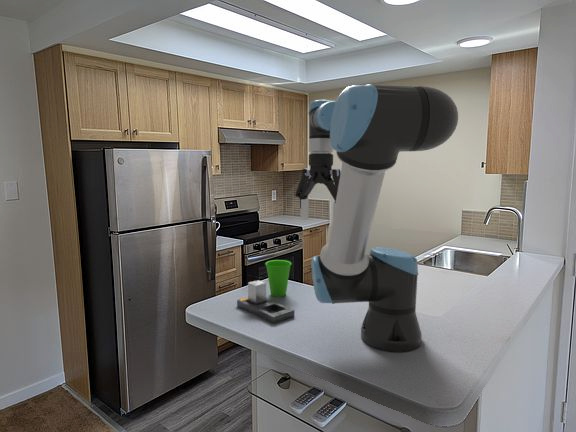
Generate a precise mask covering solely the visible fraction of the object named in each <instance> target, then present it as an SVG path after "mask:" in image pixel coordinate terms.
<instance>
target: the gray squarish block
mask: <svg viewBox="0 0 576 432" xmlns="http://www.w3.org/2000/svg"><path fill="white" fill-rule="evenodd" d="M247 297H248V303H250V304H252V305H254V306H257V305H260V304H263V303H266V298H267V282H264V281H262V280H259V279H258V280H253V281H249V282H247Z"/></svg>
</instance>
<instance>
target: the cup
mask: <svg viewBox="0 0 576 432" xmlns="http://www.w3.org/2000/svg"><path fill="white" fill-rule="evenodd" d="M292 264H293V263H292V262H291V261H290V260H287V259H286V260H284V259H272V260H268V261H266V262H265V263H264V265H265V267H266V271H267V278H268V284H269V290H270V294H271V296H272V297H276V298H279V297H284V296H286V294H287V289H288V283H289V277H290V271H291V266H292Z"/></svg>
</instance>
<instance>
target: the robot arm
mask: <svg viewBox="0 0 576 432" xmlns="http://www.w3.org/2000/svg"><path fill="white" fill-rule="evenodd" d="M308 110H309V111H308V128H309V129H308V152H309V154H308V166H310V167H309V168H303V169H302V172H301V177H300V180H299V184H298V186H297V189H296V191H295V194H294V196H295V197H297V198H298V199H299V204H300V205H299V209H300V220H310V219H309V210H310V209H309V208H310V207H309V205H310V203H309V202H310V200H309V195H310V194H311V193H312V190H313V189H314V187H315V186H316V185H318V184H321V185H324V186H326V188H327V190H328V192H329V193H330V195H331V196H332V198H333V200H334V202H332V222H331V227H330V232H329V239H328V242H327V243H326V244H325V245H324V246H322V248H321V250H320V254H319V255H314V256H312V258H311V260H310V264H311V265H310V266H311V277H312V283H313V290H314V294H315V297H316V300H317V301H318V302H319V303H320V304H332V305H333V304H347V303H349V304H350V303H368V308H367V311H366V313H365V317H364V319H363V322H362V325H361V327H360V338H361V340H362V341H363V342H364V343H366V344H367V345H369V346H371V347H372V348H375V349H378V350H381V351H386V352H391V353H392V352H393V353H394V352H395V353H396V352H397V353H403V352H411V351H414V350H416V349H419V347H420V346H421V344H422V338H423V336H422V331H421V327H420V322H419V319H418V316H417V313H416V312H417V311H416V309H417V306H416V305H417V294H418V293H417V292H418V291H417V289H418V276H419V272H418V271H419V269H418V268H419V267H418V260H417V257H416V256H415V255H413V254H411V253H410V252H407V251H404V250H403V251H402V250H401V249H400V250H399V249H396V248H388V247H379V246H378V247H377V246H376V247H372V248H371V249H370V251H369V254H368V253H367V251H366V249H367V245H368V240H369V237H370V233H371V229H372V225H373V221H374V217H375V215H376V214H375V213H376V210H377V206H378V201H379V198H380V194H381V189H382V186H383V182H384V178H385V173H386V171H388V170H390V169H392V168H394V166H395V165H396V163H397V160H398V156H399V153H401V152H424V151H429V150H433V149H435V148H438V147H439V146H441V145H443V144H444V143H446V142H447V141H448V140H449V139H450V138H451V137H452V136H453V134H454V133H455V131H456V129H457V126H458V123H459V122H458V121H459V110H458V107H457V105H456V103H455V102H454V100H453V99H452V97H451V96H449V94H447V93H445V92H444V91H442V90H440V89H437V88H435V87H428V86H411V85H410V86H407V85H406V86H405V85H379V84H378V85H377V84H376V85H374V84H372V83H368V84H361V85H359V84H358V85H350V86H347V87H346V88H344V89H343V90H342V91H341V93H340V94H339V95H338V97H337V98H336V100H328V99H316V100H312V101H310V103H309V109H308ZM334 151H336V153H335V154H336V156H337V158H338V159H339V161H340V162H341V168H333V169H332V167H333V166H334V154H333V153H332V152H334Z"/></svg>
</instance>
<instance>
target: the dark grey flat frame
mask: <svg viewBox="0 0 576 432" xmlns="http://www.w3.org/2000/svg"><path fill="white" fill-rule="evenodd" d="M236 306H237V307H238V308H240V309H242V310H245V312H248V313H250V314H253V315H254V316H257V317H259V318H260V319H263V320H265V321H266V322H269V323H271V324H273V325H274V324H278V323H279V322H283V321H286V320H289V319H292V318H294V317H295V309H293V308H290V307H288V306H286V305H283V304H281V303H278V302H276V301H274V300H272V299H269V298H267V297H266V303H263V304H260V305H257V306H254V305H252V304H250V303H248V296H247V297H243V298H240V299H237V300H236ZM273 311H275V312H273ZM271 312H272V313H271Z"/></svg>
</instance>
